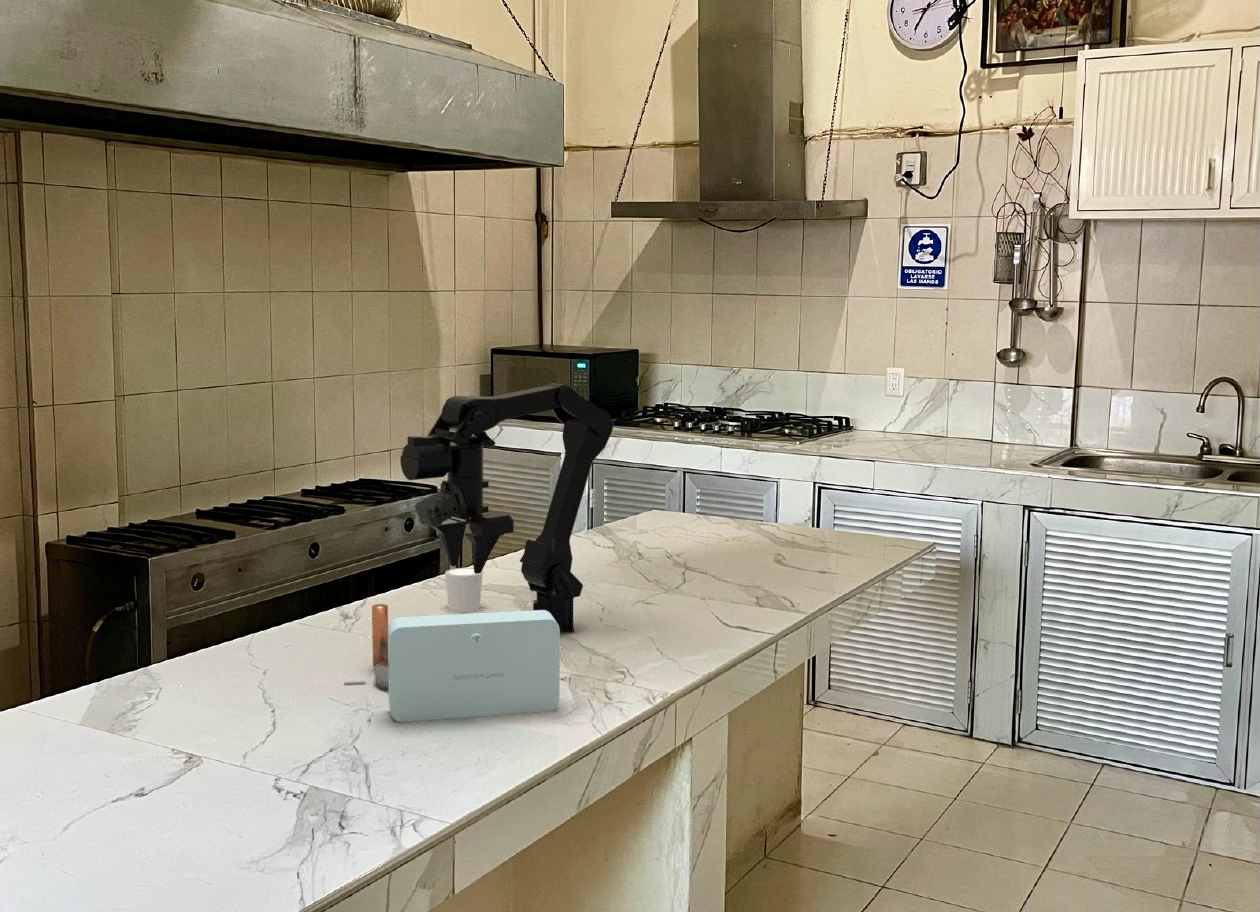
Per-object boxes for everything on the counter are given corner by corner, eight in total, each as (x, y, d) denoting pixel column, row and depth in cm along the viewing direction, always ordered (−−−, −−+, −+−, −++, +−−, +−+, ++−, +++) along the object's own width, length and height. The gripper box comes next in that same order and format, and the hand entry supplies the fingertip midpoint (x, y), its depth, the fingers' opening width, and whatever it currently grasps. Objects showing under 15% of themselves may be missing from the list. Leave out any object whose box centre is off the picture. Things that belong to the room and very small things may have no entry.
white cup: (476, 614, 218) (475, 576, 217) (439, 612, 219) (439, 574, 218) (487, 605, 225) (487, 568, 224) (452, 602, 226) (452, 566, 225)
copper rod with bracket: (407, 673, 183) (406, 612, 182) (393, 676, 182) (392, 614, 180) (383, 662, 188) (382, 603, 187) (369, 665, 187) (368, 605, 185)
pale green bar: (365, 682, 180) (365, 680, 180) (364, 684, 180) (364, 682, 180) (344, 683, 180) (344, 681, 180) (344, 684, 179) (344, 682, 179)
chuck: (444, 670, 186) (444, 626, 185) (441, 692, 177) (441, 645, 176) (378, 671, 185) (377, 627, 184) (371, 693, 175) (371, 647, 174)
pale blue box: (391, 725, 163) (389, 629, 162) (388, 710, 169) (387, 618, 167) (560, 712, 169) (560, 620, 167) (552, 698, 175) (553, 609, 173)
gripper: (390, 472, 196) (391, 566, 198) (457, 487, 182) (457, 588, 184) (448, 466, 203) (448, 557, 206) (516, 480, 190) (515, 577, 192)
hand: (465, 569), depth 197 cm, fingers open, 6 cm apart
